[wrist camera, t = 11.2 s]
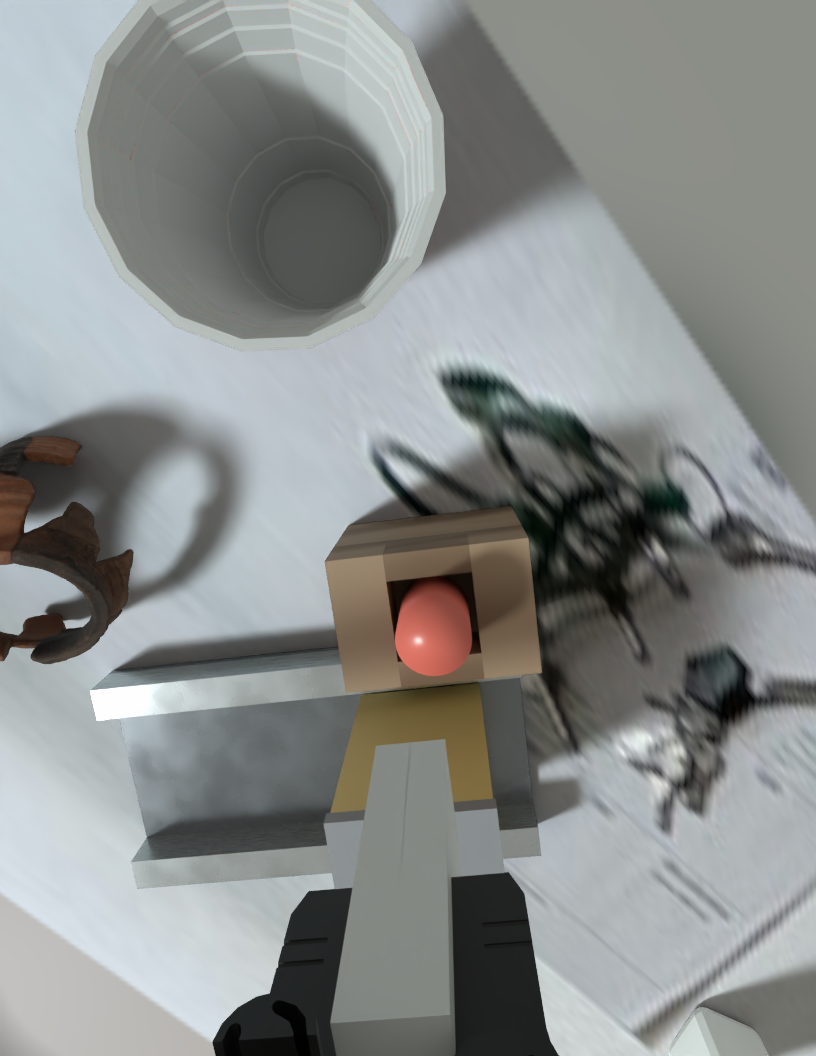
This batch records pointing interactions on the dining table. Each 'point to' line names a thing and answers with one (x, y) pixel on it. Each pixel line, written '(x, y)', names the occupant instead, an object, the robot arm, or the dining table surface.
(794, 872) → the dining table surface
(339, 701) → the track
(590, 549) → the dining table surface
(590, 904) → the dining table surface
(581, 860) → the dining table surface
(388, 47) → the plastic cup
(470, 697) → the carriage
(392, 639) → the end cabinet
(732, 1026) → the white pill bottle
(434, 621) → the ball
